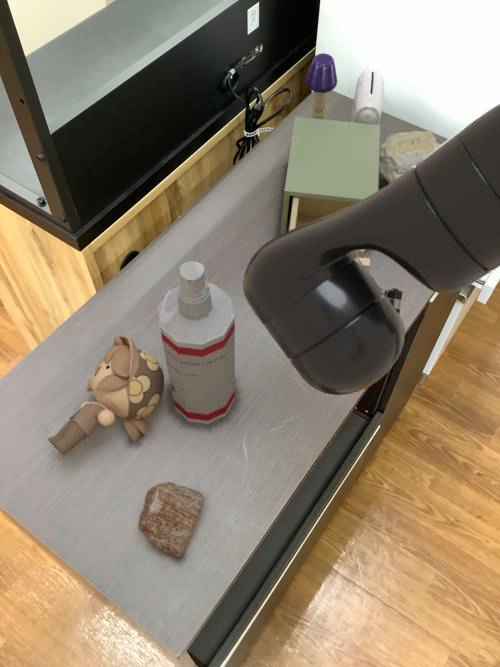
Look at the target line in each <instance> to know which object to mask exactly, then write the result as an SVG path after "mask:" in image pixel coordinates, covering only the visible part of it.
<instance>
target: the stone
mask: <svg viewBox="0 0 500 667" xmlns="http://www.w3.org/2000/svg"><path fill="white" fill-rule="evenodd" d="M204 500H205V496H204V495H203V493H202V492H200V491H197V490H195V489H192V488H189V487H187V486H184V485H178V484H176V483H174V482H172V481H169V482H161V483H157V484H155V485H153V486H152V487H151V488H149V490H147V492H146V493H145V496H144V504H143V508H142V511H141V512H140V515H139V519H138V531H140V532H141V533H142V534H143V535H144V536H145V537H146V538H147V539H148V541H149V542H150V543H152V544H153V545H154V546H155V548H157V549H159V550H161V551H162V552H163V553H166V554H167V555H169V556H172V557H181V556H182V555H183V554H184V551H185V548H186V546H187V544H188V541H189V539H190V538H191V534H192V532H193V530H194V529H195V525H196V523H197V521H198V518H199V516H200V512H201V510H202V507H203V503H204Z"/></svg>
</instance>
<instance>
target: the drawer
mask: <svg viewBox="0 0 500 667" xmlns="http://www.w3.org/2000/svg"><path fill="white" fill-rule="evenodd" d="M353 204H355V203H354V202H345V201H336V200H326V199H317V198H308V197H299V196H293V204H292V211H291V219H290V226H289V231H290V230H292V229H295V228H297V227H300V226H302V225H305V224H307V223H310V222H313V221H315V220H318V219H320V218H323V217H326V216H328V215H331V214H333V213H336V212H338V211H340V210H342V209H344V208H347V207H349V206H351V205H353ZM354 252H355V254H356V256H357V258H359V260H360V261H361V263H362V264H363V265H364V267H365V268H366V269H367V271H368V272H369V270H370V267H371V258H368V257H364V256H365V252H366V250H355V251H354Z"/></svg>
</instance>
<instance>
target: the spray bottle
mask: <svg viewBox="0 0 500 667" xmlns="http://www.w3.org/2000/svg"><path fill="white" fill-rule="evenodd" d="M179 276H180V282H179V284H178V286H176V287H174V288H170V289H169V290H168V291H167V292H166V294H165V296H164V297H163V298H162V299H161V301H160V303H159V304H158V305H157V314H158V322H159V324H158V325H159V329H160V335H161V340H162V346H163V352H164V358H165V363H166V367H167V368H166V369H167V374H168V380H169V384H170V390H171V395H172V401H173V406H174V409H175V411H176V412H177V413H178V414H180V416H182V417H183V418H184V419H185V420H186V421H188V422H189V423H195V424H197V423H198V424H203V425H209V424H212V423H214V422H215V421H218V420H220V419H222V418H224V417H227V415H228V413H229V411H230V410H231V407H232V405H233V404H234V403H235V399H236V375H235V374H236V316H235V312H234V307H233V302H232V297H231V296H229V294H227V293H226V292H225V291H224V290H223V289H221V288H219V286H217V284H214V283H209V282H208V281H207V279H206V273H205V266H204V265H203V264H202V263H200V262H199V261H194V260H193V261H192V260H190V261H186V262H183V263H182V264H181V265H180V266H179Z"/></svg>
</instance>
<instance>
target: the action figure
mask: <svg viewBox="0 0 500 667" xmlns="http://www.w3.org/2000/svg"><path fill="white" fill-rule="evenodd" d="M163 370H164V369H163V368H162V366H161V363H160V362H159V361H158V360H157V358H155V357H153V356H152V355H151V354H150V353H148V352H147V351H144V350H141V349H138V348H137V345H136V342H135V341H134V340H133V338H131V337H130V336H128V335H127V334H120V335H119V336H113V344H112V346H111V347H110V348H108V349H107V351H106V353H105V354H104V356H103V357H102V358H101V359H100V360H99V362H98V363H97V365H96V367H95V369H94V371H93V373H92V375H91V377H90V379H89V381H88V383H87V387H86V393H89V392H92V394H93V396H94V397H95V399H96V401H93V400H92V401H89V400H86V401H84V402H82V403H81V405H79V409H78V411H76V412H75V413H74V414H72V416H70V417H69V420H68V421H67V422H66V423H65V424H64V425H63V427H62V428H61V429H60V430H59V431H58V432H57V433H56V434H54V435H53V436H51V437H47V441H49V443H50V445H52V446H53V447H54V448H55V449H56V450H57V451H58V452H59V453H61V454H62V455H63V456H65V455H67V454H69V452H70V451H72V450H73V449H74V448H75V447H76V446H78V445H79V444H80V443H81V442H82V441H84V440H85V439H90V437H91V436H92V434H93V432H94V431H95V430H96V428H97V427H98V426H99V425H101V426H104V427H109V426H111V425H113V424H114V422H115V420H116V417H115V416H118V418H120V419H122V421H123V427H124V429H125V432H126V434H127V435H128V437H129V438H130V440H131V441H132V442H133V443H135V442H136V441H137V440H139V438H140V436H141V434H143V435H144V436H145V435H146V434H147V431H148V425H147V421H146V420H145V418H144V417H146V416H148V415H149V414H151V413H152V412H153V411H154V410H155V409H156V408H157V406H158V404H159V402H160V401H161V399H162V396H163V393H164V388H165V374H164V371H163Z"/></svg>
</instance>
